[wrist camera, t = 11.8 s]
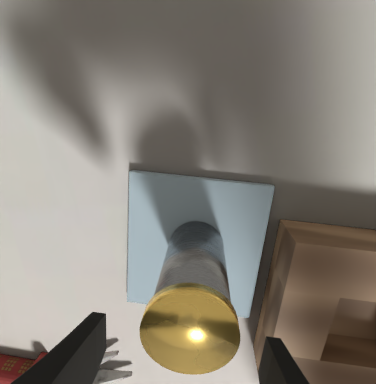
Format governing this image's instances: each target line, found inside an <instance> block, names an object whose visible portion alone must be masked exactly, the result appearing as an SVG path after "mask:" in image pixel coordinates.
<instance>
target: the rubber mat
mask: <svg viewBox="0 0 376 384" xmlns="http://www.w3.org/2000/svg"><path fill="white" fill-rule="evenodd" d="M274 189H275V187H274V185H272V184H262V183H253V182H243V181H233V180H224V179H214V178H205V177H195V176H185V175H176V174H166V173H157V172H147V171H138V170H131V171H130V172H129V219H128V278H127V302H134V303H141V304H148V302H149V301H150V299H151V298H152V297H153V296H154V293H155V290H156V286H157V283H158V279H159V276H160V272H161V269H162V266H163V262H164V259H165V255H166V252H167V248H168V245H169V242H170V238H171V236H172V234H173V232H174V231H175V230H176V229H177V228H178V227H179V226H180V225H182V224H184V223H187V222H191V221H201V222H205V223H207V224H210V225H211V226H213V227H214V228H215V229H216V230H217V231H218V232H219V233H220V235H221V237H222V240H223V245H224V253H225V260H226V268H227V275H228V283H229V291H230V298H231V304H232V305H233V307H234V309H235V311H236V314H237V316H238V317H245V318H249V315H250V310H251V305H252V300H253V295H254V290H255V285H256V280H257V275H258V270H259V265H260V260H261V255H262V249H263V244H264V239H265V234H266V229H267V224H268V219H269V214H270V209H271V204H272V199H273V194H274Z"/></svg>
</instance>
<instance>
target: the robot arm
mask: <svg viewBox="0 0 376 384" xmlns="http://www.w3.org/2000/svg"><path fill="white" fill-rule="evenodd" d="M105 351H106V314H104V313H97V312H92V313H91V314H90V315H89V316H88V317H87V318H85V319H84V320H83V321H82V322H81V323H80V324H79V325H78V326H77V327H76V328H75V329H74V330H73V331H72V332H71V333H70V334H69V335H68V336H66V337H65V338H64V339H63V340H62V341H61V342H60V343H59V344H58V345H56V346H55V347H54V348H53V349H52V350H51V351H50V352H49V353H47V354H46V355H45V356H44V357H43V358H41V359H40V360H39V361H38V362H37V363H35V364H34V365H33V366H32V367H31V368H29V369H28V370H27V371H26V372H24V373H23V374H22V375H21V376H19V377H18V378H17V379H15V380H14V381H13V382H11V383H10V384H93V382H94V380H95V377H96V375H97V373H98V370H99V368H100V365H101V362H102V359H103V356H104V354H105ZM258 374H259V383H260V384H310V383H309V382H308V380H307V379H306V377H305V376H304V374H303V373H302V371H301V370H300V368H299V367H298V365H297V363H296V362H295V360H294V359H293V357H292V356H291V354H290V352H289V351H288V349H287V348H286V346H285V344H284V343H283V341H282V340H281V338H275V337H268V336H266V339H265V343H264V348H263V352H262V357H261V361H260V365H259V370H258Z"/></svg>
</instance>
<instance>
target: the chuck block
mask: <svg viewBox="0 0 376 384" xmlns="http://www.w3.org/2000/svg"><path fill="white" fill-rule="evenodd" d="M266 336H268V337H275V338H281V340H282V341H283V343H284V344H285V346H286V348H287V349H288V351H289V352H290V354H291V356H292V357H293V359H294V360H295V362H296V363H297V365H298V367H299V368H300V370H301V371H302V373H303V374H304V376H305V377H306V379H307V380H308V382H309V383H310V384H376V230H372V229H363V228H354V227H345V226H336V225H327V224H318V223H309V222H300V221H291V220H283V219H280V223H279V228H278V232H277V237H276V242H275V246H274V251H273V256H272V260H271V265H270V270H269V275H268V279H267V284H266V289H265V293H264V298H263V303H262V307H261V312H260V317H259V322H258V326H257V331H256V336H255V340H254V345H253V348H254V354H255V359H256V365H257V370H259V365H260V361H261V357H262V352H263V348H264V343H265V339H266ZM258 375H259V374H258Z"/></svg>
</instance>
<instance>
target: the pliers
mask: <svg viewBox="0 0 376 384" xmlns="http://www.w3.org/2000/svg"><path fill="white" fill-rule="evenodd" d="M118 352H119V351H111V352H105V354H104V356H103V359H102V362H101V364H103V363H104V362H106V361H108V360H109V359H111V358H113V357H114V356H116V355H117V354H118ZM46 354H47V353H46V352H41V354H40V355H39V356H38V358H37V359H36V360H31V359H26V358H20V357H15V356H9V355H4V354H0V384H10V383H11V382H13V381H14V380H15V379H17V378H18V377H19V376H21V375H22V374H23V373H24V372H26V371H27V370H28V369H29V368H31V367H32V366H33V365H34V364H35V363H37V362H38V361H39V360H40V359H41V358H43V357H44V356H45V355H46ZM130 376H132V371H118V370H105V369H99V370H98V373H97V375H96V377H95V380H94V382H93V384H111V383H113V382H116V381H119V380H122V379H124V378H127V377H130Z"/></svg>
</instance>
